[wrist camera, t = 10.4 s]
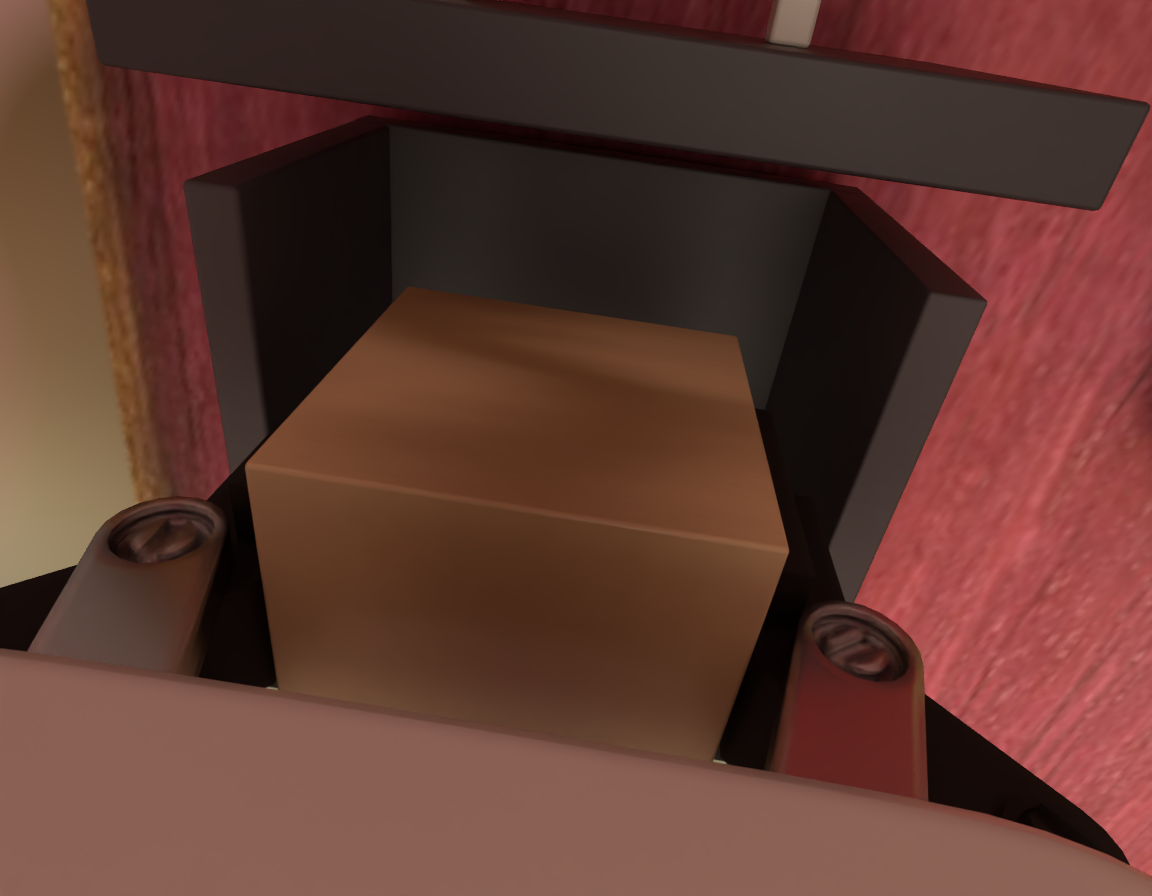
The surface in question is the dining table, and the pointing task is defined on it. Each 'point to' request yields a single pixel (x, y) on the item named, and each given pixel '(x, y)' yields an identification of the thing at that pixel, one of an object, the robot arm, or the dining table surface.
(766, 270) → the pull-out tray
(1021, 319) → the dining table surface
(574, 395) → the block
